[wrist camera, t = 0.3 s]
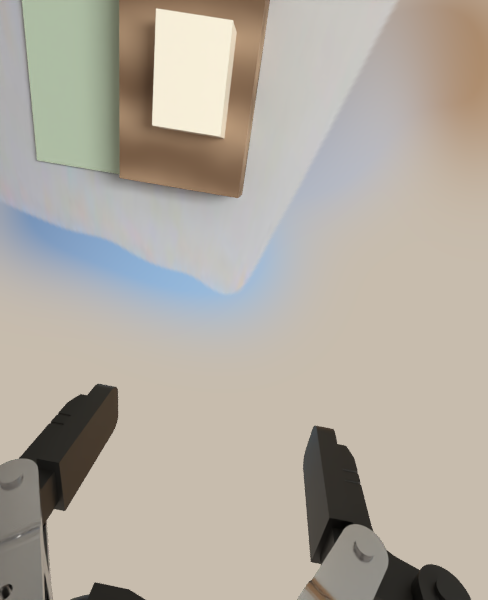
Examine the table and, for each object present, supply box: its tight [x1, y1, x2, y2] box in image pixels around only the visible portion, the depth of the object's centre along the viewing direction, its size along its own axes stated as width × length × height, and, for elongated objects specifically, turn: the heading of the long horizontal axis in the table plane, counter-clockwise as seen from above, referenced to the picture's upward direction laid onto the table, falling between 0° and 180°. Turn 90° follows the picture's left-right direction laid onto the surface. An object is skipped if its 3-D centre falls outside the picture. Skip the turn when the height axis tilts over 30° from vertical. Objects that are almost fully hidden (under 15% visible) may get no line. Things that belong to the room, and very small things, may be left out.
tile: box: [152, 8, 237, 139], centre depth 27 cm, size 8×6×2 cm
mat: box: [22, 0, 120, 174], centre depth 32 cm, size 18×11×1 cm, turn 171°
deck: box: [119, 0, 270, 198], centre depth 30 cm, size 18×12×4 cm, turn 171°
